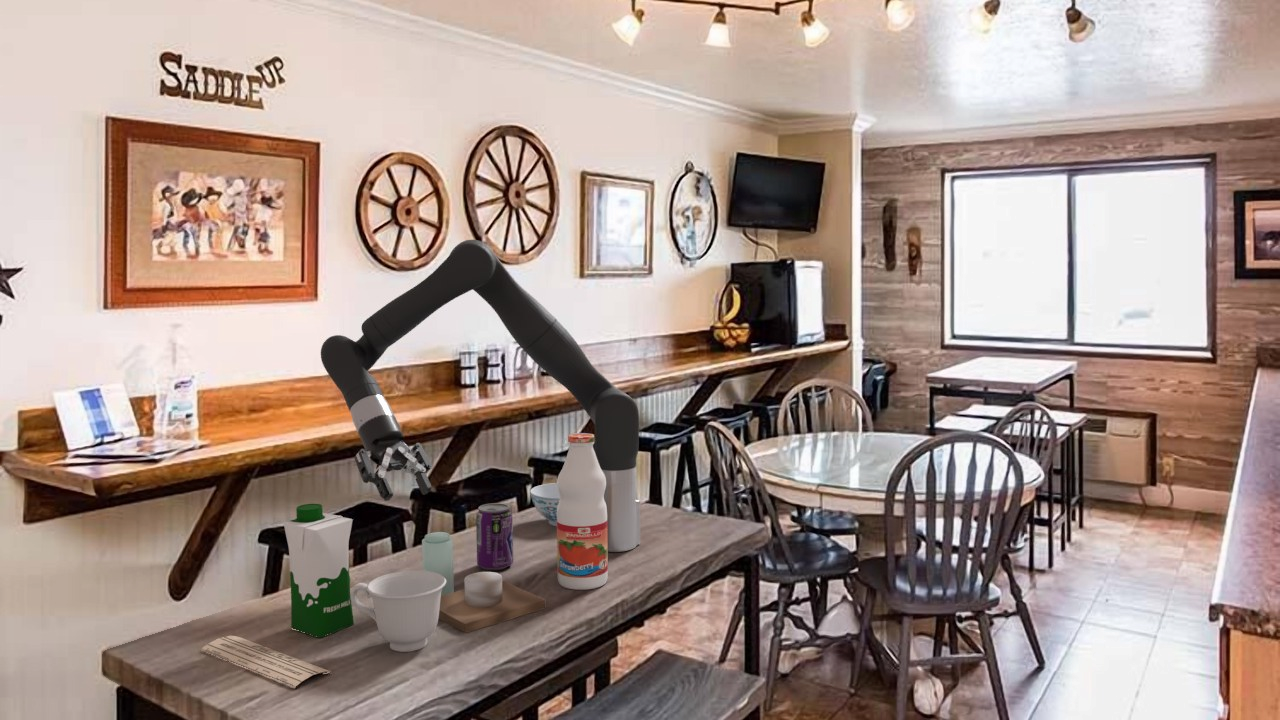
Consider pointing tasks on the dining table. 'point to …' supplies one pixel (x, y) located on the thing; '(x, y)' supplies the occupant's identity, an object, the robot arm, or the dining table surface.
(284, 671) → the newspaper
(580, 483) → the strawberry yogurt bottle
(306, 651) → the dining table surface
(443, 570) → the pale green cylinder
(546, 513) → the chinaware
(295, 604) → the milk carton
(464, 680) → the dining table surface
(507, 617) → the stud base
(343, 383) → the robot arm
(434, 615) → the teacup
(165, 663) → the dining table surface
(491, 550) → the beverage can
